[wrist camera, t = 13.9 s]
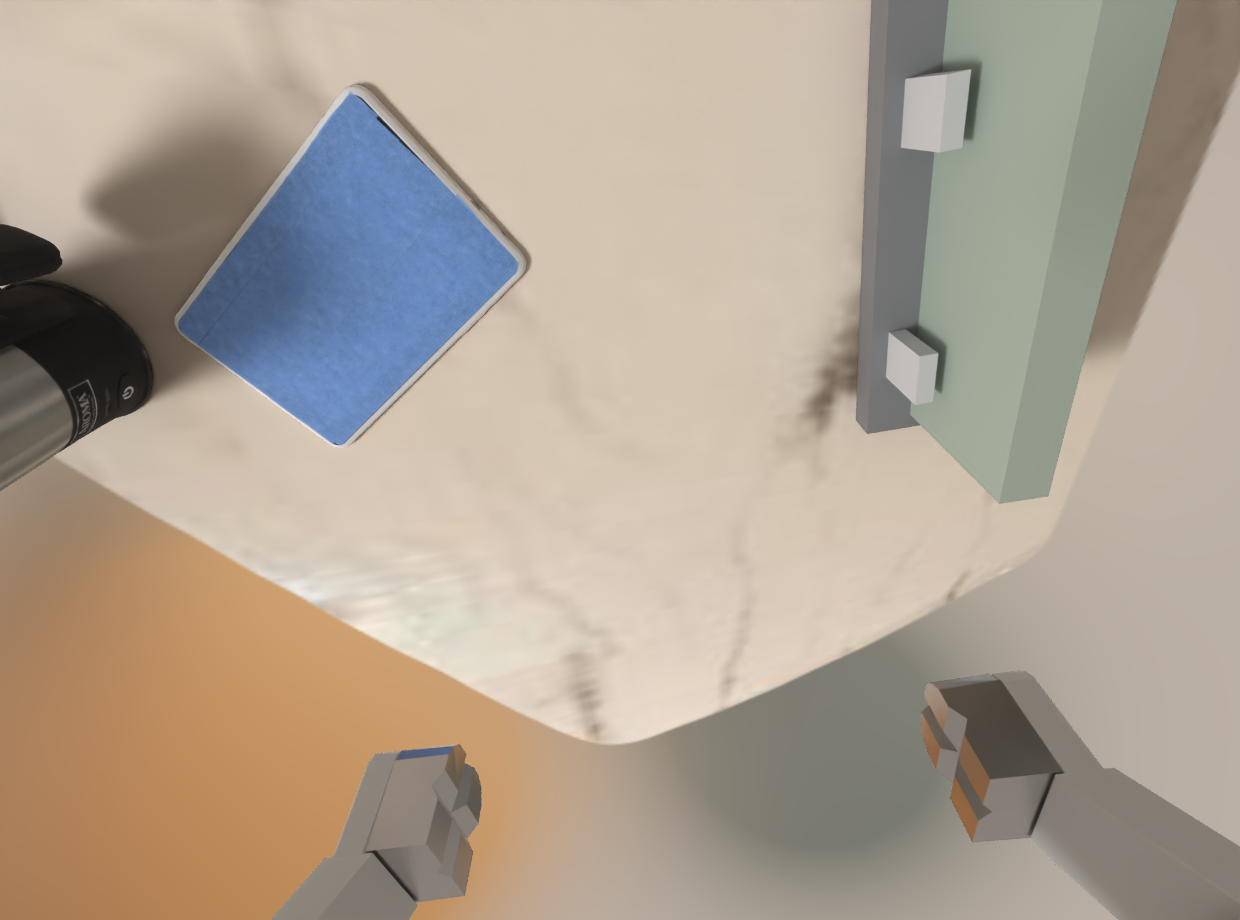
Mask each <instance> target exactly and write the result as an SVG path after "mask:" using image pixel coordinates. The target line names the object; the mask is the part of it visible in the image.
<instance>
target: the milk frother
mask: <svg viewBox="0 0 1240 920" xmlns="http://www.w3.org/2000/svg"><path fill="white" fill-rule="evenodd" d="M61 265H62V259H61V257H60V251H59V250H58V249H57V247H56V246H55V245H54V244H52V243H51V242H49V241H47V240H45V239H43V238H41V237H39V236H36V235H34V234H32V233H29V232H27V231H24V230H22V229H19V228H16V227H12V226H9V225H5V224H0V286H4V285H8V286H6V287H5V288H3V289H1V288H0V491H1V490H3V489H4V488H6V487H8V486H9V485H10V484H12V483H14V482H15V481H17V480H18V479H20V478H21V477H23V476H24V475H26V474H27V473H29V472H30V471H32V470H33V469H35V468H36V467H38V466H39V465H41V464H42V463H44V462H45V461H47V460H49V459H50V458H51V457H53V456H54V455H56V454H57V453H58V452H61V451H62V450H64V449H65V448H67V447H68V446H70V445H71V444H73V443H74V442H76V441H77V440H79V439H81V438H82V437H84V436H86V435H87V434H89V433H91V432H92V431H94V430H96V429H97V428H99V427H101V426H102V425H104V424H106V423H108V422H109V421H111V420H113V419H115V418H117V417H121V416H126V415H128V414H130V413H132V412H134V411H136V410H137V409H138V408H140V407H141V406H142V405H143V404H144V403H145V401H146V400H147V399H148V397H149V395H150V391H151V389H152V379H153V377H152V368H151V365H150V362H149V359H148V356H147V354H146V352H145V350H144V348H143V346H142V344H141V343H140V342H139V340H138V338H137V337H136V336H135V334H134V333H133V332H132V330H131V329H130V328H129V327H128V326H127V325H126V324H125V323H124V322H123V321H122V320H121V319H120V318H119V317H118V316H117V315H116V314H114V313H113V312H112V311H111V310H109V309H108V308H107V307H105V306H104V305H103V304H101V303H99V302H98V301H96V300H95V299H93V298H92V297H90V296H88V295H86V294H83V293H81V292H79V291H77V290H75V289H73V288H71V287H67V286H65V285H61V284H58V283H54V282H49V281H41V280H28V279H33V278H36V277H40V276H42V275H46V274H51V273H52V272H54V271H56V270H57V269H58V268H59V267H60V266H61ZM23 280H25V281H23ZM18 281H21V282H18ZM14 282H15V283H14ZM11 283H12V284H11ZM9 284H10V285H9Z"/></svg>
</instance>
